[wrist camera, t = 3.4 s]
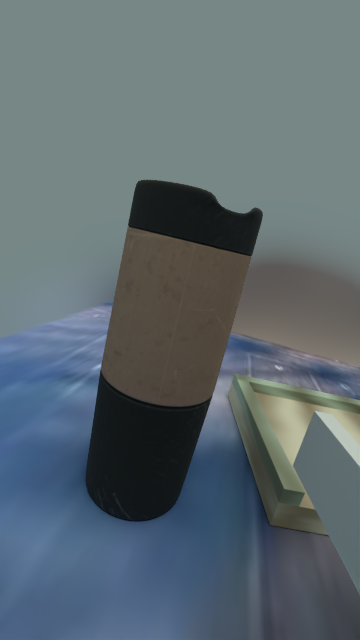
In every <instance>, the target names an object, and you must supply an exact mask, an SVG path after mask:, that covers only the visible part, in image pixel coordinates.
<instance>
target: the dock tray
mask: <svg viewBox="0 0 360 640" xmlns="http://www.w3.org/2000/svg"><path fill="white" fill-rule="evenodd" d="M228 398H229V401H230V404H231V407H232V410H233V413H234V416H235V419H236V422H237V426H238V429H239V432H240V435H241V438H242V441H243V444H244V447H245V450H246V453H247V456H248V459H249V462H250V465H251V468H252V472H253V475H254V478H255V481H256V484H257V487H258V490H259V493H260V496H261V499H262V502H263V505H264V508H265V511H266V514H267V518H268V521H269V524H270V525H273V526H278V527H284V528H289V529H295V530H301V531H306V532H312V533H318V534H323V535H328V533H327V531H326V529H325V527H324V525H323V523H322V521H321V519H320V517H319V515H318V514H317V512H316V510H315V508H314V506H313V504H312V502H311V500H310V498H309V496H308V494H307V492H306V490H305V489H304V487H303V485H302V483H301V481H300V479H299V477H298V475H297V473H296V471H295V469H294V467H293V464H294V461H295V458H296V456H297V453H298V451H299V448H300V446H301V443H302V441H303V438H304V436H305V433H306V431H307V428H308V426H309V423H310V421H311V418H312V416H313V413H314V411H318V412H323V413H328V414H332V415H333V416H334V417H335V418H336V420H337V421H338V422H339V423H340V424H341V425H342V426H343V427H344V429H345V430H346V431H347V432H348V433H349V434H350V435H351V436H352V437H353V439H354V440H355V441H356V442H357V443H358V444H359V445H360V400H356V399H351V398H346V397H342V396H337V395H332V394H328V393H323V392H318V391H314V390H309V389H304V388H300V387H295V386H290V385H285V384H281V383H276V382H271V381H267V380H262V379H257V378H253V377H248V376H243V375H239V374H234V378H233V381H232V384H231V387H230V391H229V394H228Z"/></svg>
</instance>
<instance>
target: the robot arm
mask: <svg viewBox="0 0 360 640" xmlns="http://www.w3.org/2000/svg"><path fill="white" fill-rule="evenodd" d="M293 467H294V469H295V471H296V473H297V475H298V477H299V479H300V481H301V483H302V485H303V487H304V489H305V490H306V492H307V494H308V496H309V498H310V500H311V502H312V504H313V506H314V508H315V510H316V512H317V514H318V515H319V517H320V519H321V521H322V523H323V525H324V527H325V529H326V531H327V533H328V535H329V537H330V539H331V541H332V542H333V544H334V546H335V548H336V550H337V552H338V554H339V556H340V558H341V560H342V562H343V564H344V566H345V567H346V569H347V571H348V573H349V575H350V577H351V579H352V581H353V583H354V585H355V587H356V589H357V591H358V593H359V594H360V445H359V444H358V443H357V442H356V441H355V440H354V439H353V437H352V436H351V435H350V434H349V433H348V432H347V431H346V430H345V429H344V427H343V426H342V425H341V424H340V423H339V422H338V421H337V420H336V418H335V417H334V416H333V415H332V414H328V413H323V412H318V411H314V413H313V416H312V418H311V421H310V423H309V426H308V428H307V431H306V433H305V436H304V438H303V441H302V443H301V446H300V448H299V451H298V453H297V456H296V458H295V461H294V464H293Z"/></svg>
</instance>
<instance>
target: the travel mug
mask: <svg viewBox="0 0 360 640" xmlns="http://www.w3.org/2000/svg"><path fill="white" fill-rule="evenodd" d="M262 214H263V213H262V211H261V210H260V209H258V208H253V209H252V210H251V211H250V212H248V213H245V214H242V213H236V212H233V211H230V210H227V209H225V208H224V207H222V206H221V205H220V204H219V203H218V201H217V199H216V198H215V196H214V195H213V194H212V193H211V192H208V191H206V190H203V189H200V188H197V187H193V186H189V185H184V184H179V183H173V182H165V181H158V180H141V181H138V183H137V184H136V188H135V192H134V197H133V202H132V208H131V213H130V219H129V224H128V225H129V227H128V229H127V234H126V239H125V244H124V250H123V255H122V260H121V265H120V270H119V276H118V281H117V287H116V292H115V297H114V302H113V307H112V312H111V318H110V323H109V328H108V333H107V339H106V344H105V349H104V354H103V360H102V365H101V371H100V378H99V385H98V392H97V399H96V406H95V413H94V420H93V426H92V433H91V440H90V447H89V454H88V462H87V470H86V484H87V488H88V491H89V494H90V496H91V497H92V499H93V500H94V502H95V503H96V504H97V505H98V506H99V507H100V508H102V509H103V510H104V511H106V512H107V513H109V514H111V515H113V516H115V517H118V518H121V519H126V520H133V521H142V520H149V519H153V518H156V517H158V516H160V515H162V514H164V513H165V512H167V511H168V510H169V509H170V508H171V507H172V506H173V505H174V504H175V502H176V501H177V499H178V497H179V494H180V492H181V489H182V486H183V483H184V480H185V477H186V475H187V471H188V468H189V465H190V462H191V459H192V456H193V453H194V450H195V447H196V444H197V441H198V438H199V435H200V432H201V429H202V426H203V423H204V420H205V417H206V414H207V411H208V408H209V405H210V402H211V399H212V395H213V392H214V389H215V385H216V382H217V378H218V375H219V371H220V368H221V364H222V360H223V357H224V353H225V350H226V346H227V343H228V339H229V335H230V332H231V328H232V325H233V321H234V318H235V314H236V311H237V307H238V303H239V300H240V296H241V293H242V289H243V286H244V282H245V278H246V275H247V271H248V268H249V264H250V260H251V255H252V253H253V250H254V246H255V243H256V239H257V236H258V232H259V228H260V225H261V221H262V216H263V215H262Z"/></svg>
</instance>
